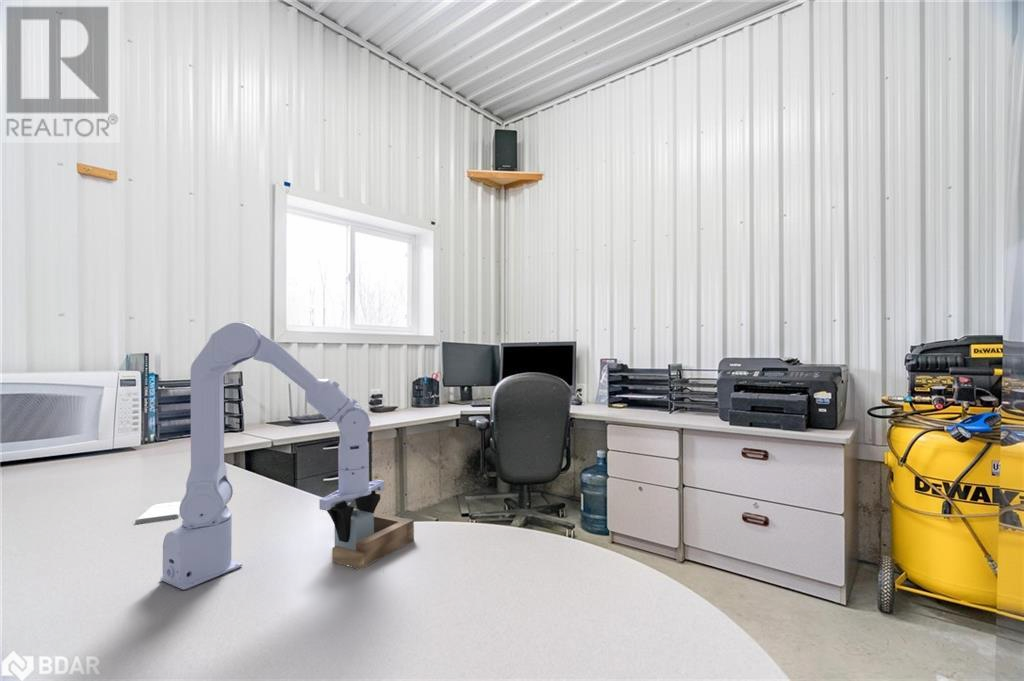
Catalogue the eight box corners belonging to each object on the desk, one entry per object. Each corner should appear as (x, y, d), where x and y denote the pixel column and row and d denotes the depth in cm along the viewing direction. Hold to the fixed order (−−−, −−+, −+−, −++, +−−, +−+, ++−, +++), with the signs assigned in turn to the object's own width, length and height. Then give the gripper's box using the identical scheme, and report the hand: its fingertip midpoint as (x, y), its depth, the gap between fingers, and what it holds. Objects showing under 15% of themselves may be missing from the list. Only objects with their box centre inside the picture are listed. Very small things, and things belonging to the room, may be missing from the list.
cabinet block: (356, 552, 84) (355, 515, 85) (334, 547, 87) (334, 510, 87) (374, 543, 88) (373, 508, 88) (352, 538, 91) (352, 504, 91)
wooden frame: (359, 569, 77) (359, 546, 78) (290, 549, 86) (290, 528, 87) (413, 540, 90) (413, 520, 90) (348, 525, 99) (348, 507, 99)
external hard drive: (135, 526, 103) (152, 510, 114) (178, 520, 106) (190, 505, 118) (135, 519, 103) (152, 504, 114) (178, 513, 106) (190, 499, 118)
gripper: (337, 477, 80) (338, 554, 79) (394, 460, 93) (395, 526, 92) (311, 473, 83) (312, 547, 83) (370, 458, 96) (370, 521, 96)
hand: (354, 536), depth 88 cm, fingers closed on cabinet block, 4 cm apart
